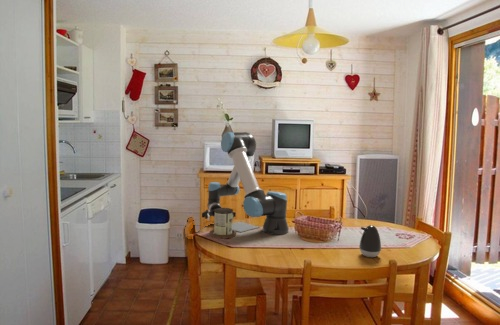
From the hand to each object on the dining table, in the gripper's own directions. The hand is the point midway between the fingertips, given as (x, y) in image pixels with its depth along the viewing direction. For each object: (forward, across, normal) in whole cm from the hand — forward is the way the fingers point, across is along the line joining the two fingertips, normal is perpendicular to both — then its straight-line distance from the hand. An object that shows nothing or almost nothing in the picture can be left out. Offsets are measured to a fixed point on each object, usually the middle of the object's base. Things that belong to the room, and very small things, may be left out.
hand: (220, 218), depth 229 cm
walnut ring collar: (+7, 0, -7) cm, 10 cm away
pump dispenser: (+51, -66, -8) cm, 84 cm away
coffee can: (+7, 0, -8) cm, 11 cm away
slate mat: (-6, -13, -7) cm, 16 cm away
